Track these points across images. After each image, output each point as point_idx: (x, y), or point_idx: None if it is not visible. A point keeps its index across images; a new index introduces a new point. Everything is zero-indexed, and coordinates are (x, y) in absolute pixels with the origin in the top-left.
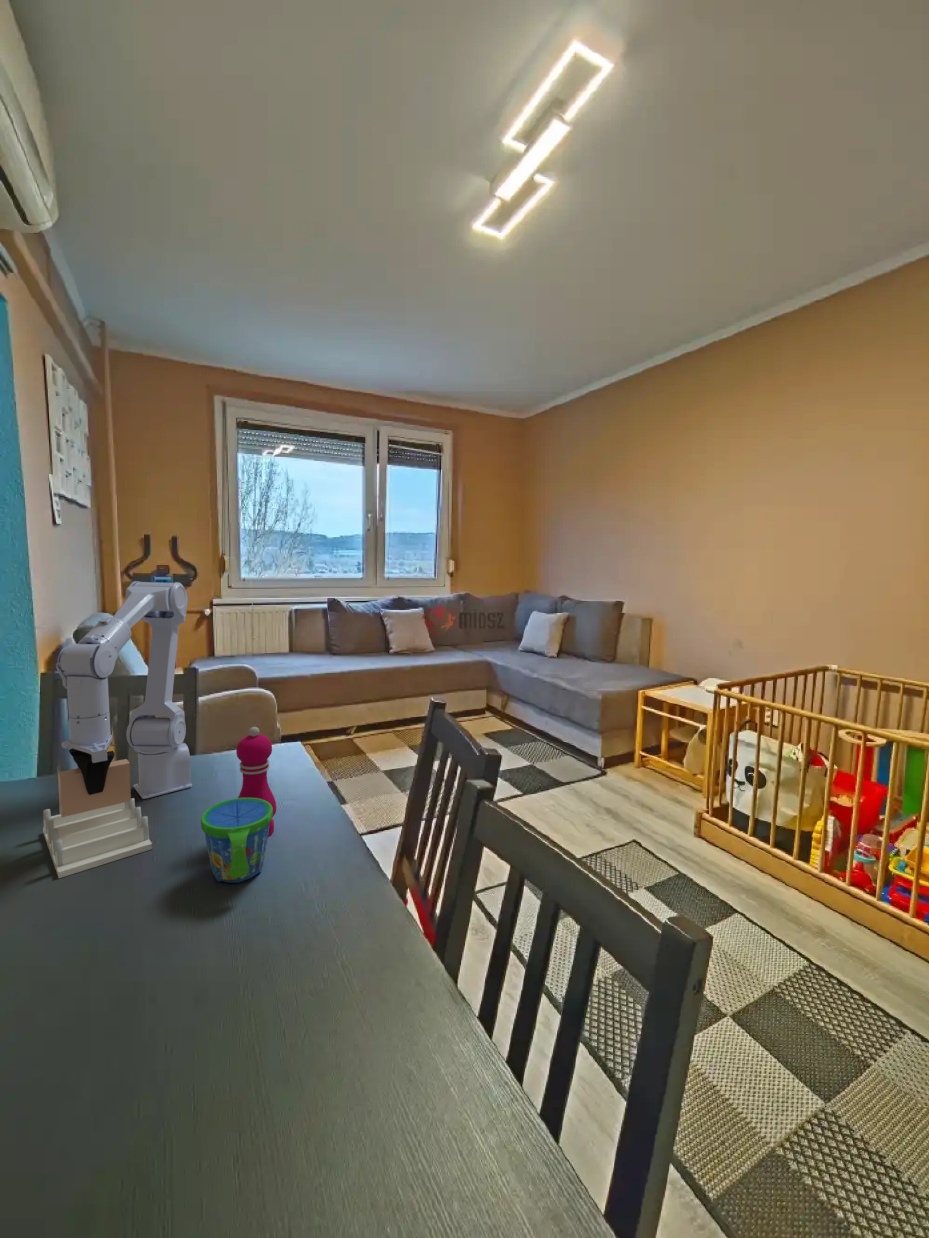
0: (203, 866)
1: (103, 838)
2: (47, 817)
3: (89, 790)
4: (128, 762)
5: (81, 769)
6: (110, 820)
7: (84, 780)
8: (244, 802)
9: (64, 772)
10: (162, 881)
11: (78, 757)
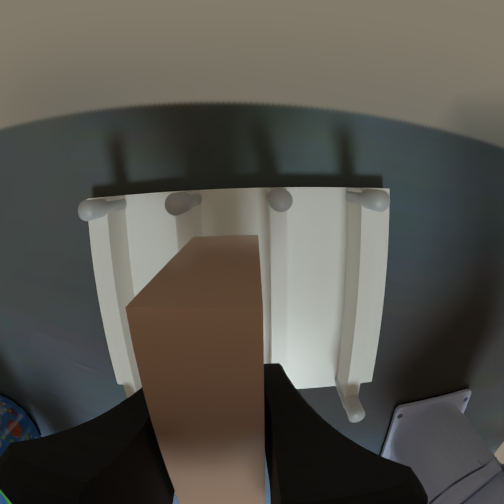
0: (36, 402)
1: (108, 315)
2: (361, 199)
3: None
4: None
5: (52, 435)
6: (270, 348)
7: (128, 398)
8: (3, 500)
9: (217, 347)
10: (14, 346)
11: (41, 500)
